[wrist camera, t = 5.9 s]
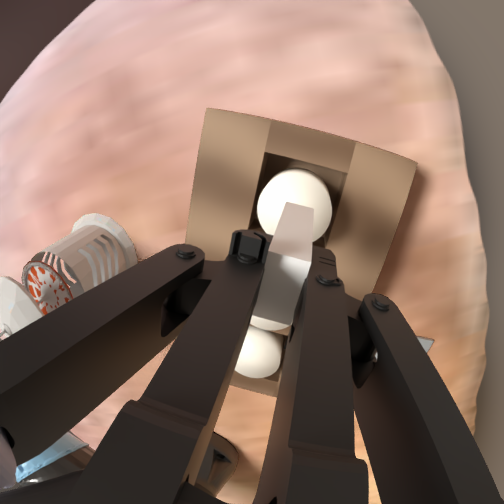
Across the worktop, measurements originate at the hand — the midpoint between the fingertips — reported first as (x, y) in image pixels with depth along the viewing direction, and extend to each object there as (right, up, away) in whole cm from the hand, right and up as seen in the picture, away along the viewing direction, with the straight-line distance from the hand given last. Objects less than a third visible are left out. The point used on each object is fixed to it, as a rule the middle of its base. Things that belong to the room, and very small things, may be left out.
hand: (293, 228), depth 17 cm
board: (0, -3, +13) cm, 13 cm away
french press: (-19, -2, +17) cm, 25 cm away
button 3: (+1, +3, +7) cm, 8 cm away
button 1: (-1, -10, +15) cm, 18 cm away
